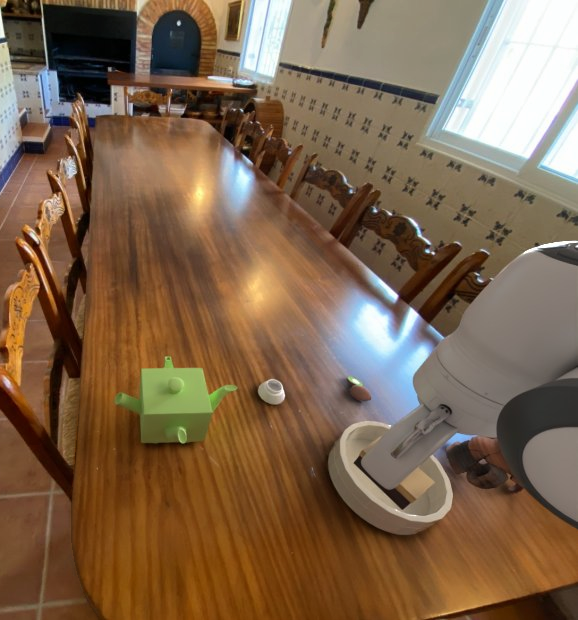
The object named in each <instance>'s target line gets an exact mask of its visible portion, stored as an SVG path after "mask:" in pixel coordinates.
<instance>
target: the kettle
mask: <svg viewBox="0 0 578 620" xmlns="http://www.w3.org/2000/svg"><path fill="white" fill-rule="evenodd" d="M203 369H204V368H203V367H174V364H173V360H172V356H164V361H163V367H153V368H152V367H149V368H148V367H146V368H145V367H144V368H140V376H139V377H140V378H139V392H138V393H139V394H138V398H136V397H134V396H131V395H128V394H126V393H124V392H118V393H117V394H116V395H115V398H114V404H115V405H117V406H119V407H122V408H124V409H126V410H129V411H131V412H133V413H136V414H138V415H139V424H140V426H139V427H140V443H141V444H159V443H160V444H161V443H181V444H185V443H191V442H192V443H193V442H205V440H206V437H207V434H208V430H209V428H210V423H211V420H212V417H213V415H214V413H213V412H214V411H215V410H216V409H217V408H218V406H219V405H220V403H221V401H222V400H223V399H224V397H226V395H228V394H229V393H233V392H235V391H236V390H238V388H239V387H238V386H237V385H235V384H225V385H223V386H221V387H219V388H217V389H216V390H214V391H213V392H212V393H210V394H209V391H208V386H207V383H206V378H205V374H204V370H203Z"/></svg>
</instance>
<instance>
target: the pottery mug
mask: <svg viewBox="0 0 578 620" xmlns="http://www.w3.org/2000/svg"><path fill="white" fill-rule="evenodd" d="M445 454H446V459H447V461H448V464H449V466H450V467H451V470H452V471H453V472H454V474H455V475H457V476H458V475H461V474H465V479H466V480H467V482H468V483H469V484H470V485H473V486H474V487H476V488H478V489H481V490H491V489H497V488H499V487H501V486H502V485H504V484H505V483H506V482H507V481H508V480H509V479H510V481H512V482H514V483H515V484H514V485H511V486H510V487H509V488H508V491H509V493H510V494H511V495H515V494H519V492H522V491H523V490H525V489H524V487H523V486H522V485H521V484H520V483H519V482H518V480H517V479H516V478H515V476H514V475H513V474H512V472H511V471H510V469H509V467H508V466H507V464H506V462H505V460H504V458H503V455H502V453H501V450H500V447H499V444H498V440H497V437H493V438H490V437H482V436H477V435H475V436H472V437H471V438H470V439H467V440H464V441H462V442H460V441H458V440H457V441H455V442H453V443H452V444H451V445H448V446H446V448H445ZM483 460H484V462H485V463H483V464H482V463H480V462H481V461H483ZM509 475H510V477H509Z"/></svg>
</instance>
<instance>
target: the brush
mask: <svg viewBox="0 0 578 620" xmlns="http://www.w3.org/2000/svg"><path fill="white" fill-rule="evenodd" d="M381 437H382V436H380V437H379V438H378V439H376V440H375V441H374V442H372V443H371V444H369V445H368V446H367V447H365V448H364V449H363V450H362V451H361V452H360V453H359V456H358V458H357V459H356V460H355V461H354V464H355V465H356V466H357V467H358V468H359V469H360V470H361V471H362V472H363V473H364V474H365V475H366V476H367V477H368V478H369V479H370V480H371V481H372V482H373V483H374V484H375V485H377V486H378V487H379V488H380V489H381V490H382V491H383V492H384V493H385V494H386V495H387V496H388V497H389V498H390V499H391V500H392V501H393V502H394V503H395V504H396V505H397V506H398V507H399V508H400V509H402V510H403V509H405V508H406V507H407V506H408V505H409V504H410V503H413V502H414V501H415V500H417V499H418V498H419V497H420V496H421V495H422V494H423V493H424V492H425V491H426V490H427V489H428V488H430V487H431V486H432V485H433V484H434V483H435V482H434V481H433V480H432V479H431V478H430V477H428V476H427V475H426V474H425V473H424V472H423V471H421V470H420V469H419V468H417V469H416V470H415V471H413V472H412V473H411V474H410V475H409V476H408V477H407V478H406V479H404V480H403V481H402V482H401V483H400V484H399V485H398V486H397V487H395V488H394V489H391V490H388V489H386V488H384V487H383V486H381V485H380V484H379V483H378V482H377V481H376V480H375V479H373V478H372V477H371V476H370V475H369V474H368V472H367V471H366V470H365V469H364V468H363V467H362V465H361V460H362V458H363V457H364V456H365V454H366V453H367V452H368V451H369V450H370V449H371V448H372V447H373V446H374V445H375V444H376V442H377V441H378V440H379V439H380V438H381Z"/></svg>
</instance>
